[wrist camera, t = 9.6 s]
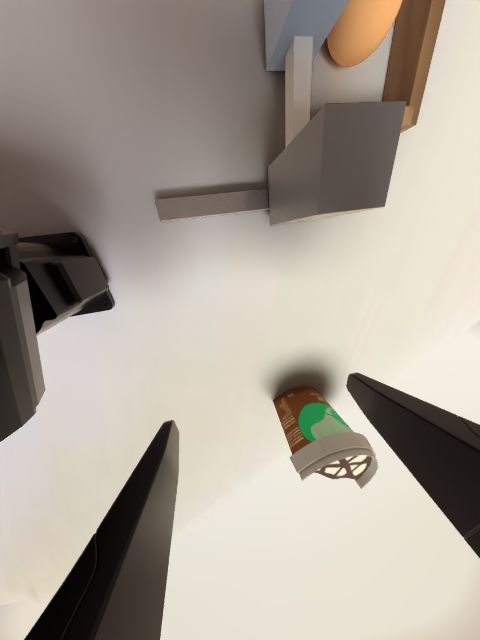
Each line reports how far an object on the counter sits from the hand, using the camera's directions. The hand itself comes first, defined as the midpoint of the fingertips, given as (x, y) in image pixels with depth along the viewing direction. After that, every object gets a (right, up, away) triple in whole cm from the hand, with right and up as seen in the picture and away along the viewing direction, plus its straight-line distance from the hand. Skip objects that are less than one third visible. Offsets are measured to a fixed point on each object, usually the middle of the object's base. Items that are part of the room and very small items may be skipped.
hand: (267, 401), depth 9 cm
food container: (+9, -8, +20) cm, 23 cm away
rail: (-1, +14, +7) cm, 16 cm away
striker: (+2, +19, +5) cm, 20 cm away
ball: (+6, +23, +2) cm, 24 cm away
